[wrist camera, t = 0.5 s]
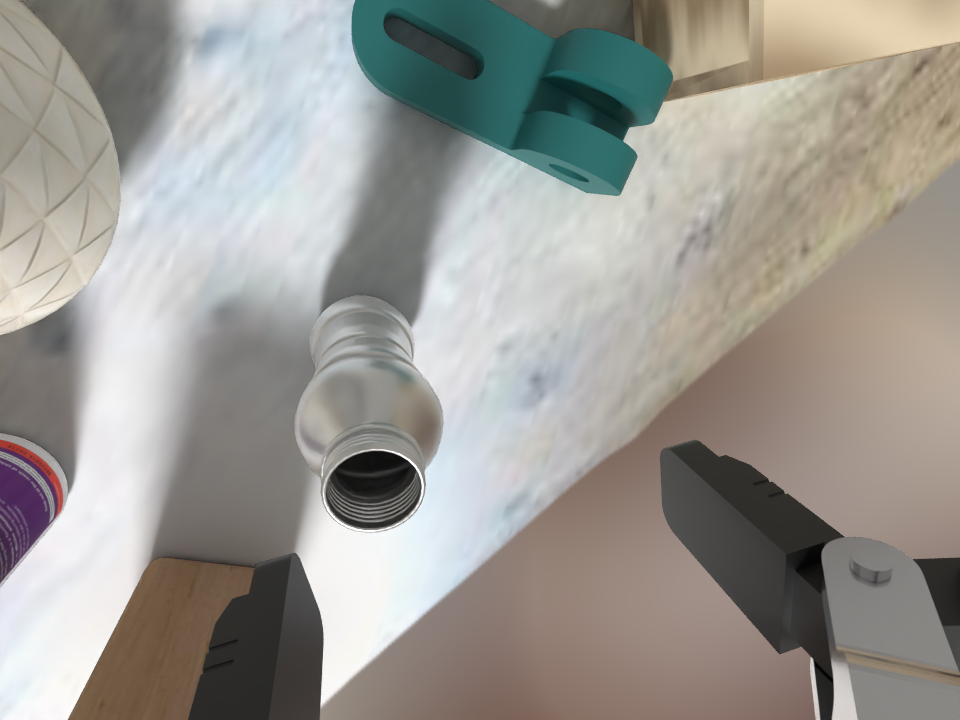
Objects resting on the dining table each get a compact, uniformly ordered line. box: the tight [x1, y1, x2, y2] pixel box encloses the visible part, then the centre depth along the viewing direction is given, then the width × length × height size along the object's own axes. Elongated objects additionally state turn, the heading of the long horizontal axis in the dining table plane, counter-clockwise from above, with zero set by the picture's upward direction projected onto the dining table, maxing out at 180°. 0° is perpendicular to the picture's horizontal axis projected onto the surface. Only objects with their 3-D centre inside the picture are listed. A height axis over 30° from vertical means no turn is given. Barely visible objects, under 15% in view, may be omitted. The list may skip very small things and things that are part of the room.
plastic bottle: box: [294, 295, 444, 532], centre depth 28 cm, size 6×7×20 cm
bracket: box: [352, 0, 673, 196], centre depth 31 cm, size 18×7×8 cm, turn 66°
